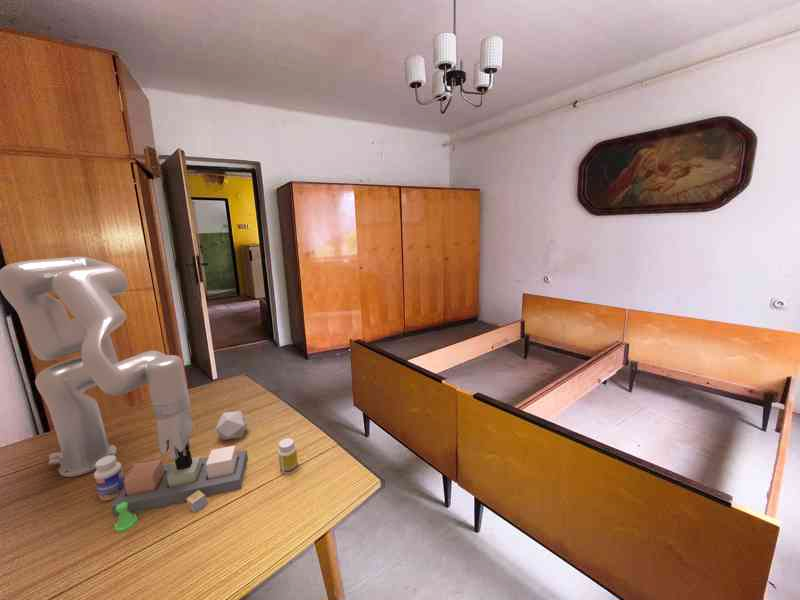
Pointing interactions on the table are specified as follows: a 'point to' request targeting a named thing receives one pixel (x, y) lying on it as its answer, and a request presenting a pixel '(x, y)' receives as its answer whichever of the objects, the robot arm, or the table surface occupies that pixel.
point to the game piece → (124, 518)
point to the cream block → (221, 462)
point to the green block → (185, 473)
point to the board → (183, 488)
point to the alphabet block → (196, 501)
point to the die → (231, 425)
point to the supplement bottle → (287, 456)
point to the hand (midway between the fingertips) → (184, 466)
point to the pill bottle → (109, 477)
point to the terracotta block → (144, 477)
